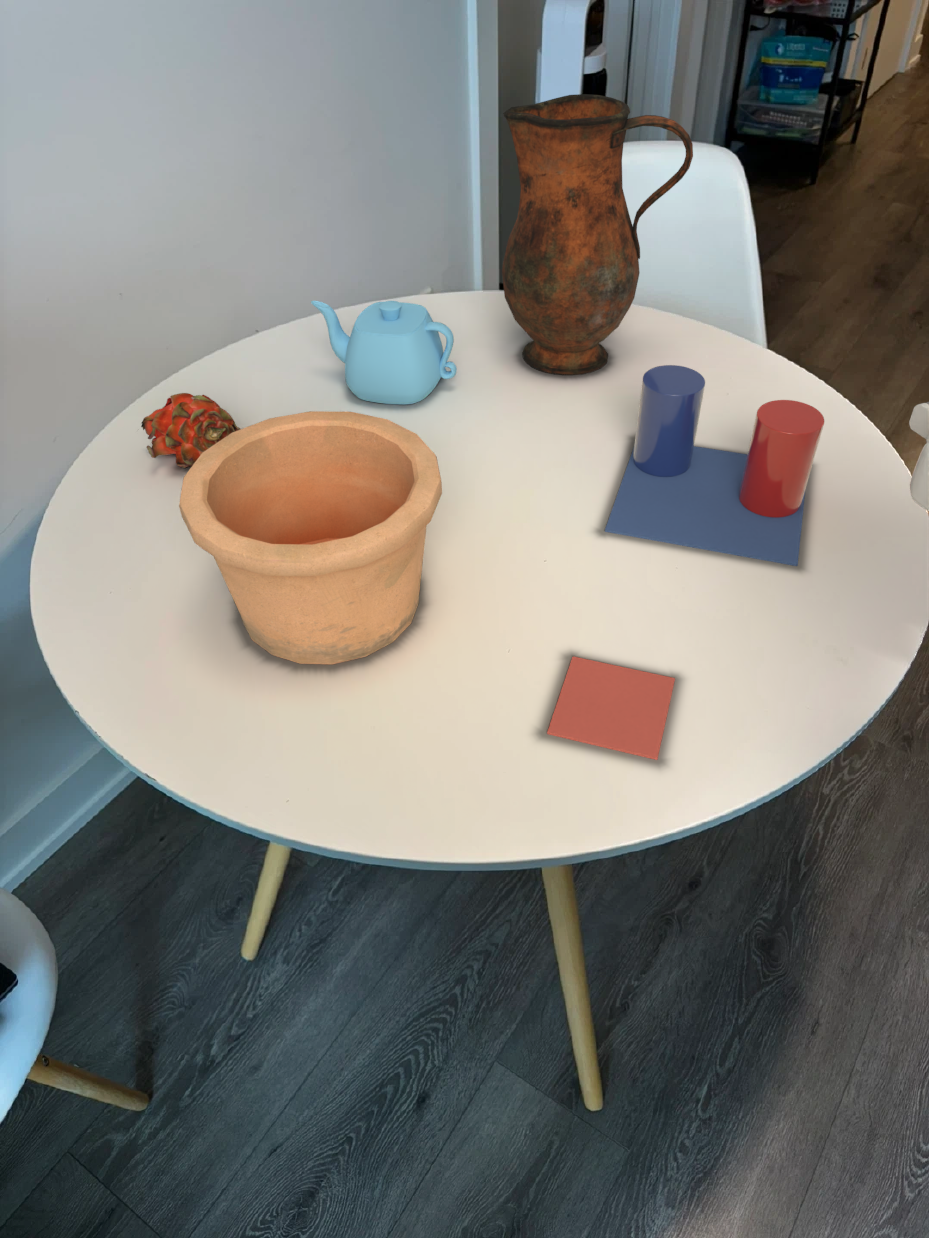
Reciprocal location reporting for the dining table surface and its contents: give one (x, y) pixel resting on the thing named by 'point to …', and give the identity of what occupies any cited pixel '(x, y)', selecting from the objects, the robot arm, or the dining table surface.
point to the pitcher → (574, 228)
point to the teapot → (391, 351)
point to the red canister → (780, 457)
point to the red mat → (613, 707)
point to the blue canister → (668, 420)
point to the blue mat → (703, 510)
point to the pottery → (317, 529)
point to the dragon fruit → (187, 427)
